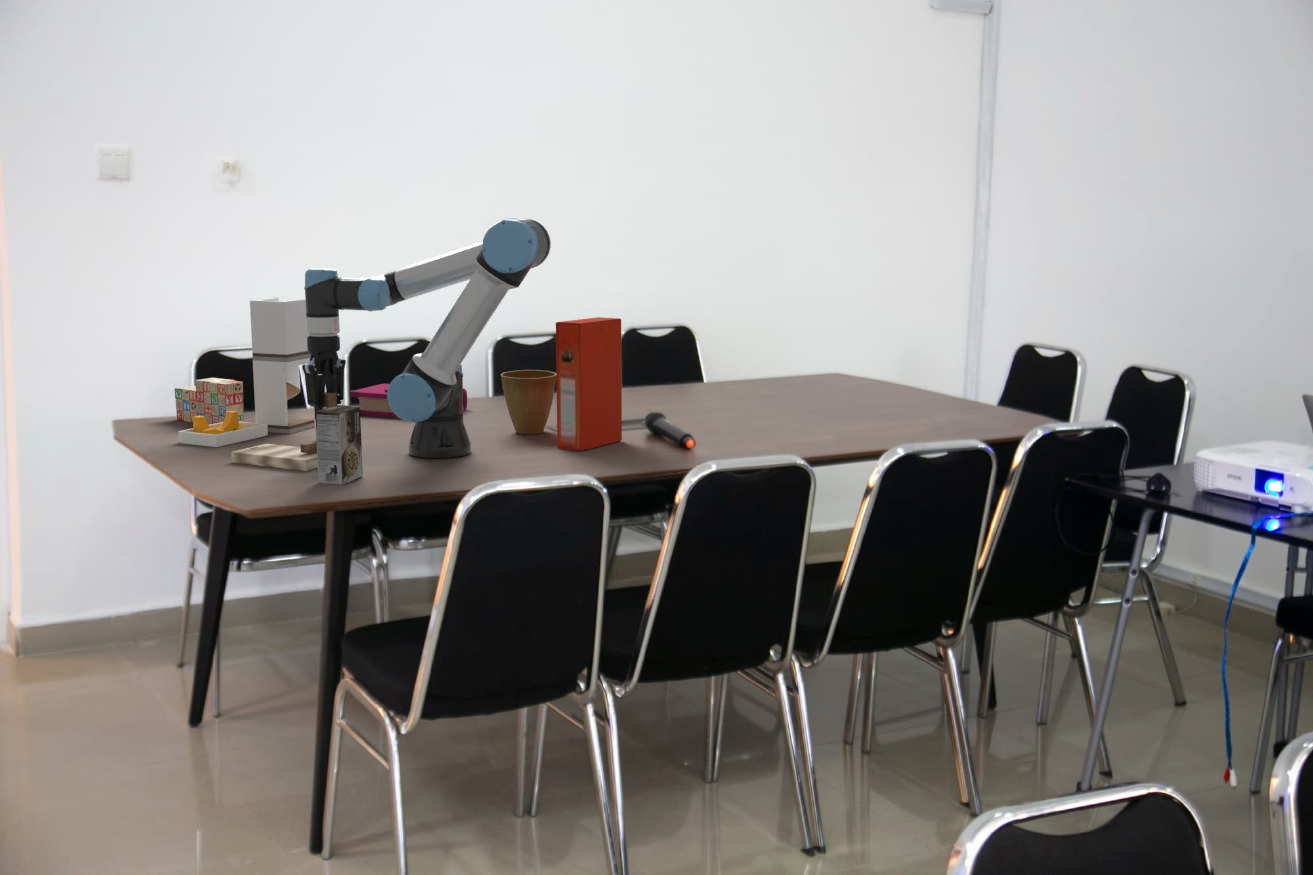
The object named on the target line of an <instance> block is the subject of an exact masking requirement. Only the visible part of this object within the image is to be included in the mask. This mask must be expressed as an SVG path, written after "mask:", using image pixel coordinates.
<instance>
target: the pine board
mask: <svg viewBox="0 0 1313 875" xmlns="http://www.w3.org/2000/svg"><path fill="white" fill-rule="evenodd" d="M230 454H231V463H233V464H234V463H235V464H243V465H253V466H258V467H259V466H261V467H268V468H279V469H284V470H294V471H302V472H308V471H310V470H315V469H318V464H317V451H314V452H311V453H301V448H300V446H293V445H292V446H291V445H283V444H276V443H275V444H273V443H263V444H259V445H254V446H251V447H246V448H243V449H238V450H234V451H231V452H230Z"/></svg>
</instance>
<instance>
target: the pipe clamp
mask: <svg viewBox="0 0 1313 875" xmlns="http://www.w3.org/2000/svg"><path fill="white" fill-rule="evenodd" d="M192 425H193V430H194V432H195V433H205V434H214V435H217V434H221V433H226V432H230V431H235V430H239V417H238V412H237V411H227V412H226V416H225V420H224V422H223V423H222V424H221V425H220V426H219V427H218V428H215V429H214V428H211V427H210V426H209V425H208V424H207V422H206V418H205V416H193V422H192Z"/></svg>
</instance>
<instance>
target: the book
mask: <svg viewBox="0 0 1313 875" xmlns="http://www.w3.org/2000/svg"><path fill="white" fill-rule="evenodd" d="M389 385H390V383H380V384H375V385H372V386H367V387H363V388H359V389H352V390H349V397H351V398H357V399H358V401H359V405H358V407H360V416H371V417H372V416H373V417H386V418H397V419H398V418H399V417H398V416H397V415H395V413H394V412H393V411H392V410H391V408H390V406H389V403H388V399H387V391H388V387H389ZM467 409H468V391H467V389H465V388H464V387H463V412H464V411H466V410H467ZM399 419H400V418H399Z"/></svg>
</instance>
